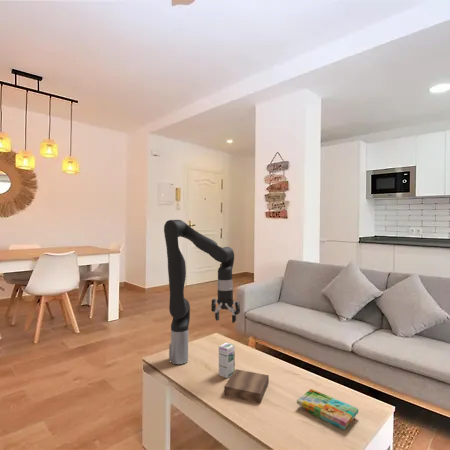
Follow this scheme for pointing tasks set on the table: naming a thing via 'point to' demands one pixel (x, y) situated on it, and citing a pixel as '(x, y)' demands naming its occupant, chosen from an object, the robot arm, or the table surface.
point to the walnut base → (247, 385)
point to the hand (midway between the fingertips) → (225, 321)
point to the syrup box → (226, 360)
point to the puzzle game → (328, 408)
